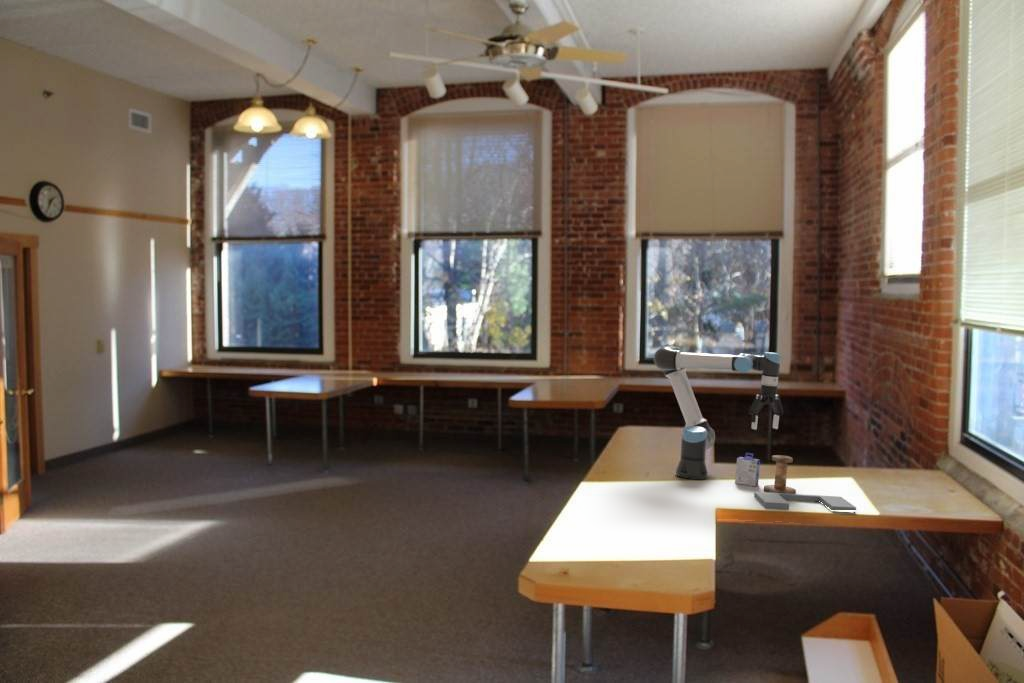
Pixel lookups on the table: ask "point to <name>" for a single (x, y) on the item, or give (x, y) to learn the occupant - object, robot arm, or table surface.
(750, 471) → the ink cartridge box
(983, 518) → the table surface
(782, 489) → the bobbin
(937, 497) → the table surface
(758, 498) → the notched board
